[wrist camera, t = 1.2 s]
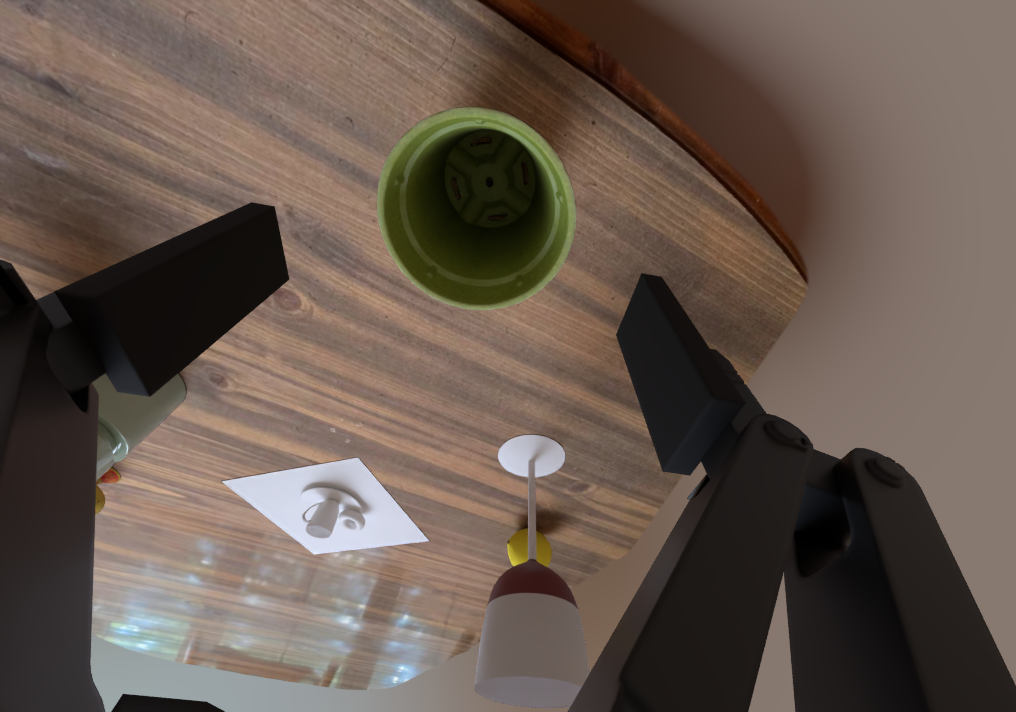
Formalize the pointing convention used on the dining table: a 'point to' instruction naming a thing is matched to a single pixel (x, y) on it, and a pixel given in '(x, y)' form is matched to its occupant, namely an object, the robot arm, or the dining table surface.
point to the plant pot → (476, 209)
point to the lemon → (520, 548)
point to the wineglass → (531, 610)
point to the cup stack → (130, 418)
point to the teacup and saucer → (330, 506)
